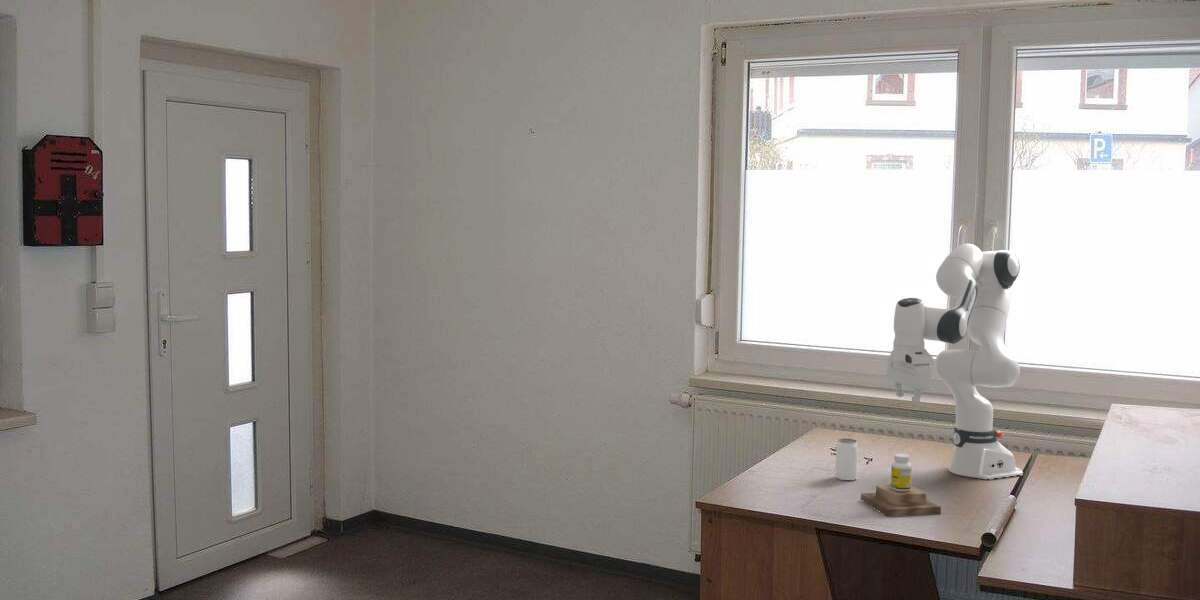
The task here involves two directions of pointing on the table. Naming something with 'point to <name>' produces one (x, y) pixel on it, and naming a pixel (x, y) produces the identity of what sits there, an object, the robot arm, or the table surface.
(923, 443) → the table surface
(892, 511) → the plinth
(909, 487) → the supplement bottle
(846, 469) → the can
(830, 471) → the table surface
